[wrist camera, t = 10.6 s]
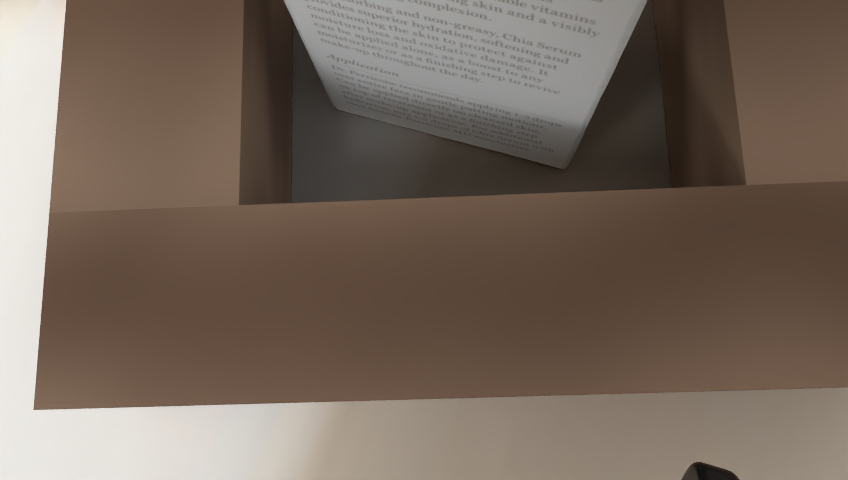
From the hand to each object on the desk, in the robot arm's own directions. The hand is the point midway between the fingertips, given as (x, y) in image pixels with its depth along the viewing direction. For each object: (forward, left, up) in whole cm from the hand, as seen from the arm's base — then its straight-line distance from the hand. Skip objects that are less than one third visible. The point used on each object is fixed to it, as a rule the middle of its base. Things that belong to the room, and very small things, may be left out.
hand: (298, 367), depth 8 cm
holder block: (+7, -2, -8) cm, 11 cm away
